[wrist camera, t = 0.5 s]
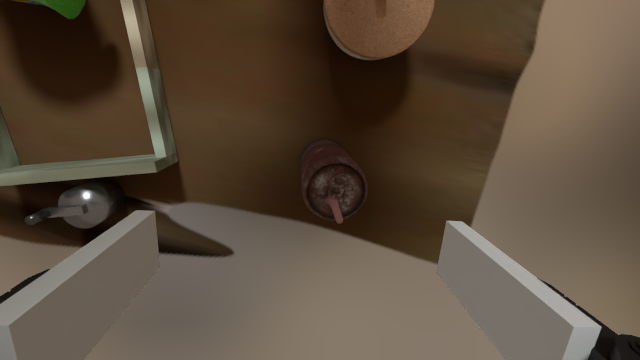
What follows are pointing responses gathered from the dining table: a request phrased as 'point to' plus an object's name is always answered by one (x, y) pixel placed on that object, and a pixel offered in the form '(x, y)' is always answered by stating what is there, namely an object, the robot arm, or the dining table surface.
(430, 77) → the dining table surface
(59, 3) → the snack cup
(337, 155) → the can
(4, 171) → the bay
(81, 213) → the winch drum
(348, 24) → the lidded jar
